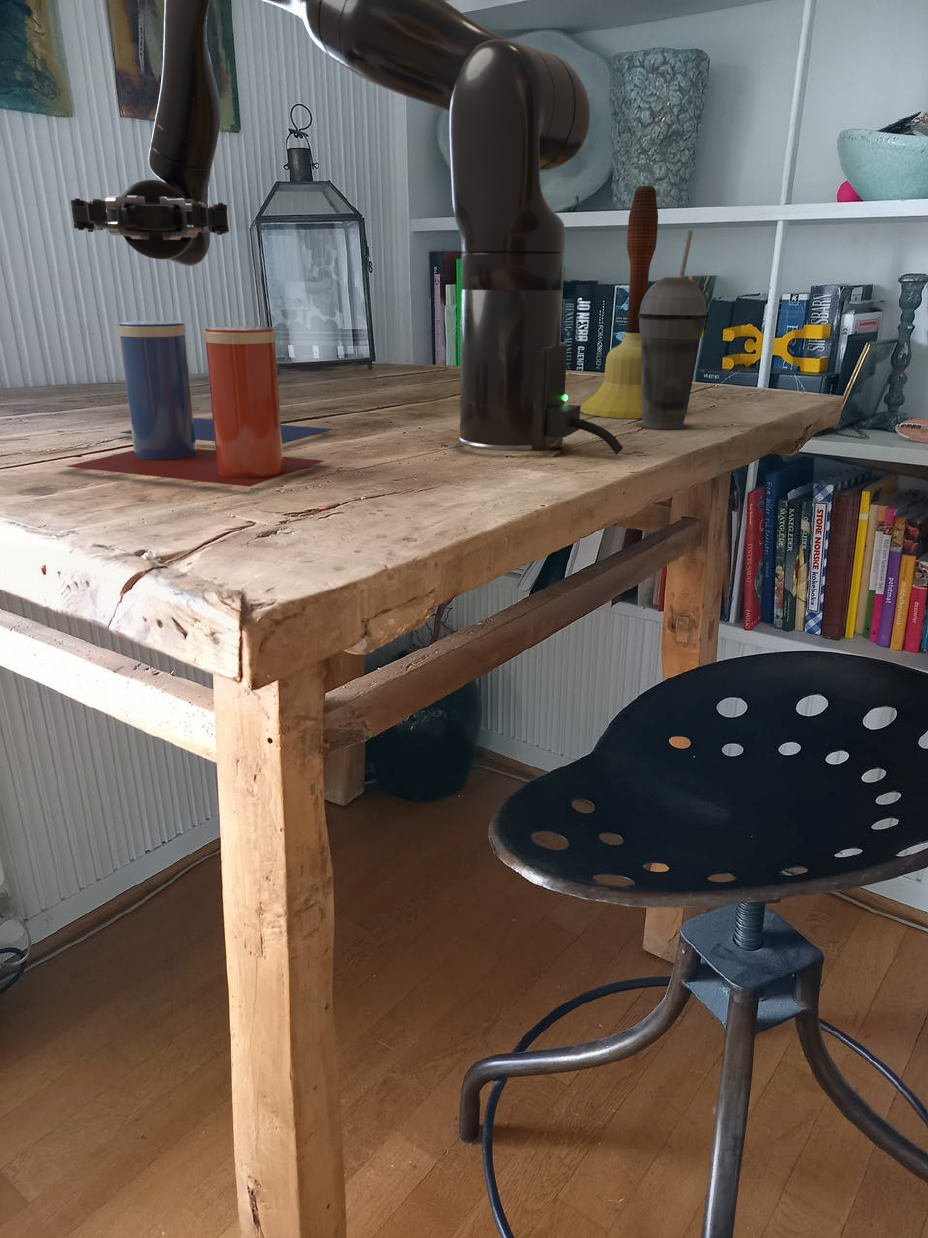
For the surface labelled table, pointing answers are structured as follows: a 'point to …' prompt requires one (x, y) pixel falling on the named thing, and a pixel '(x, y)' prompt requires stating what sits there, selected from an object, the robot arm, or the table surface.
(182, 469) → the red mat
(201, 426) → the blue mat
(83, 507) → the table surface
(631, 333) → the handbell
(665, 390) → the beverage cup
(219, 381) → the cylinder
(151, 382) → the blue tumbler
